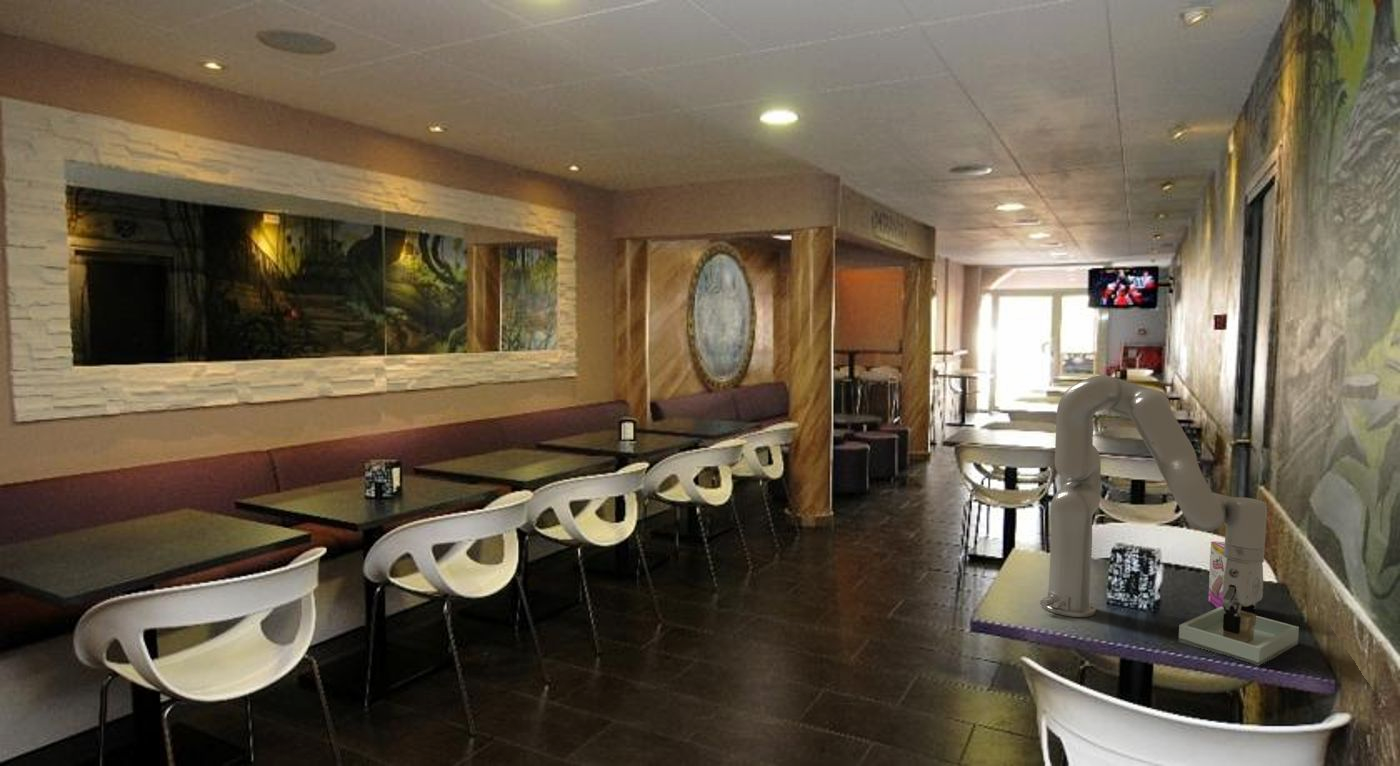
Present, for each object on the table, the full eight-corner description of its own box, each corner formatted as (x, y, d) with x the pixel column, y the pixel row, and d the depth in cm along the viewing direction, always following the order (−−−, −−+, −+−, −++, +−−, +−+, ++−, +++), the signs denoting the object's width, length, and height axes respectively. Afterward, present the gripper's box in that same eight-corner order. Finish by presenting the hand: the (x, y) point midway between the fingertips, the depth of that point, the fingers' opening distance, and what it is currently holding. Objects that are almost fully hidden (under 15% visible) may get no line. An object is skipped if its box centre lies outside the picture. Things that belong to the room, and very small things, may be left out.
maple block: (1245, 644, 180) (1246, 618, 179) (1222, 637, 183) (1224, 612, 183) (1253, 639, 182) (1255, 614, 182) (1231, 633, 186) (1233, 608, 185)
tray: (1258, 666, 170) (1259, 648, 170) (1178, 641, 183) (1179, 624, 183) (1297, 644, 183) (1298, 627, 182) (1220, 622, 196) (1221, 606, 195)
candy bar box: (1206, 601, 210) (1209, 540, 209) (1227, 603, 209) (1231, 542, 208) (1224, 616, 199) (1229, 552, 198) (1247, 618, 198) (1251, 554, 197)
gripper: (1246, 563, 173) (1241, 641, 174) (1278, 550, 183) (1273, 625, 184) (1208, 554, 179) (1204, 630, 181) (1241, 543, 189) (1236, 615, 191)
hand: (1239, 627), depth 182 cm, fingers open, 7 cm apart
